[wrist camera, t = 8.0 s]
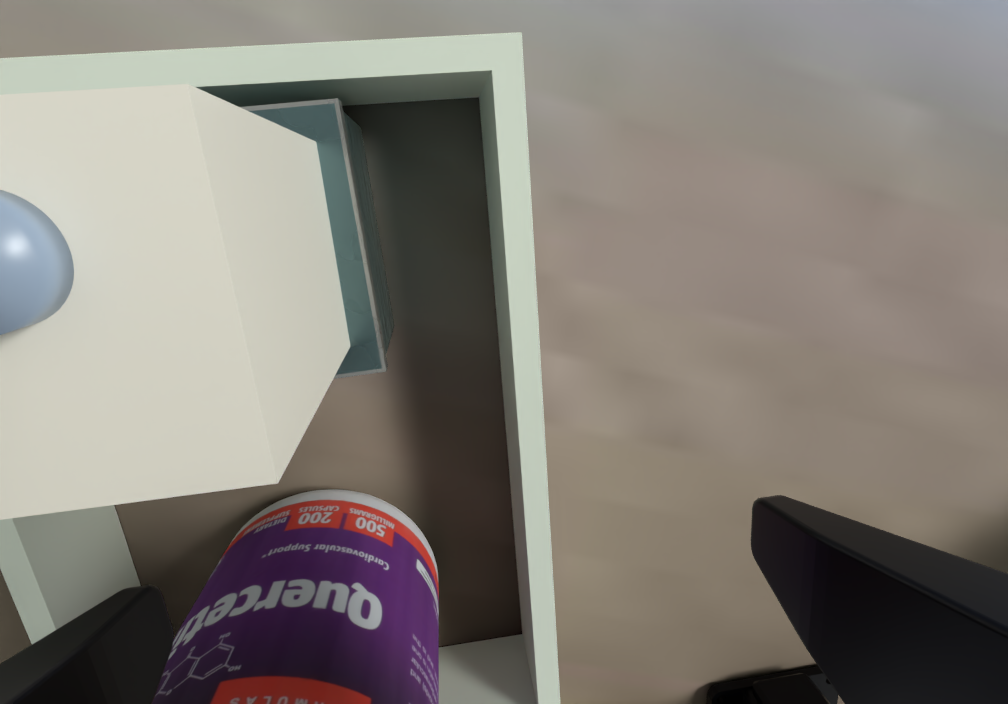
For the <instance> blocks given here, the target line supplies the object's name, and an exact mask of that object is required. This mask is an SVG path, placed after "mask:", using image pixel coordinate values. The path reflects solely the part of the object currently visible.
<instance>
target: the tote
mask: <svg viewBox="0 0 1008 704" xmlns="http://www.w3.org/2000/svg"><path fill="white" fill-rule="evenodd" d="M177 84H189V85H191V86H194V87H196V88H198V89H200V90H203V91H205V92H207V93H209V94H211V95H214V96H216V97H218V98H220V99H222V100H225V101H227V102H229V103H231V104H234V105H236V106H238V107H246V106H257V105H268V104H279V103H291V102H302V101H313V100H324V99H335V98H338V99H339V100H340V101H341V102H342V106H346V105H362V104H379V103H395V102H411V101H428V100H444V99H460V98H476V97H479V104H480V117H481V129H482V141H483V154H484V166H485V178H486V191H487V203H488V216H489V228H490V240H491V253H492V265H493V278H494V290H495V302H496V315H497V327H498V339H499V352H500V364H501V377H502V389H503V401H504V414H505V426H506V439H507V451H508V463H509V476H510V488H511V501H512V513H513V525H514V538H515V550H516V562H517V575H518V587H519V600H520V612H521V624H522V634H520V635H514V636H508V637H501V638H495V639H489V640H483V641H477V642H470V643H464V644H458V645H452V646H446V647H439V704H560V689H559V671H558V654H557V637H556V619H555V602H554V585H553V567H552V550H551V533H550V515H549V498H548V481H547V463H546V446H545V429H544V411H543V394H542V377H541V359H540V342H539V324H538V307H537V290H536V272H535V255H534V238H533V220H532V203H531V186H530V168H529V151H528V134H527V116H526V99H525V82H524V64H523V47H522V32H519V33H499V34H478V35H458V36H438V37H418V38H398V39H378V40H358V41H338V42H317V43H297V44H277V45H257V46H237V47H217V48H197V49H177V50H157V51H136V52H116V53H96V54H76V55H56V56H36V57H16V58H0V95H3V94H21V93H38V92H55V91H73V90H90V89H107V88H125V87H142V86H160V85H177ZM0 569H1V572H2V574H3V576H4V579H5V581H6V584H7V586H8V588H9V591H10V593H11V596H12V598H13V601H14V603H15V605H16V608H17V610H18V613H19V615H20V617H21V620H22V622H23V625H24V627H25V629H26V632H27V634H28V637H29V639H30V641H31V644H34V643H35V642H37V641H39V640H40V639H42V638H44V637H45V636H47V635H48V634H50V633H52V632H53V631H55V630H57V629H58V628H60V627H62V626H63V625H65V624H66V623H68V622H70V621H71V620H73V619H75V618H76V617H78V616H80V615H81V614H83V613H84V612H86V611H88V610H89V609H91V608H93V607H94V606H96V605H97V604H99V603H101V602H102V601H104V600H106V599H107V598H109V597H111V596H112V595H114V594H115V593H117V592H119V591H121V590H122V589H126V588H130V587H137V586H141V585H140V582H139V579H138V576H137V573H136V570H135V567H134V564H133V561H132V558H131V555H130V552H129V549H128V545H127V542H126V539H125V536H124V533H123V530H122V527H121V524H120V521H119V518H118V515H117V512H116V509H115V506H114V505H109V506H102V507H94V508H86V509H79V510H71V511H64V512H56V513H48V514H41V515H33V516H25V517H18V518H10V519H3V520H0Z"/></svg>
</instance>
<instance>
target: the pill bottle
mask: <svg viewBox="0 0 1008 704" xmlns="http://www.w3.org/2000/svg"><path fill="white" fill-rule="evenodd" d="M438 616H439V586H438V570H437V564H436V561H435V557H434V554H433V552H432V549H431V547H430V545H429V543H428V541H427V539H426V538H425V536H424V535H423V533H422V532H421V530H420V529H419V528H418V526H417V525H416V524H415V523H414V522H413V521H412V520H411V519H410V518H409V517H408V516H407V515H405V514H404V513H403V512H402V511H400V510H399V509H397V508H396V507H395V506H393V505H391V504H389V503H387V502H386V501H384V500H381V499H379V498H377V497H374V496H372V495H369V494H365V493H361V492H356V491H349V490H340V489H327V490H315V491H309V492H304V493H300V494H296V495H293V496H290V497H288V498H285V499H282V500H280V501H278V502H276V503H274V504H272V505H270V506H268V507H267V508H265V509H264V510H262V511H261V512H259V513H258V514H256V515H255V516H254V517H253V518H252V519H250V520H249V521H248V522H247V523H246V524H245V525H244V526H243V527H242V528H241V529H240V531H239V532H238V533H237V534H236V536H235V537H234V539H233V540H232V541H231V543H230V545H229V546H228V548H227V549H226V551H225V552H224V554H223V556H222V557H221V559H220V561H219V562H218V564H217V566H216V568H215V569H214V571H213V573H212V574H211V576H210V578H209V580H208V581H207V583H206V585H205V587H204V588H203V590H202V592H201V593H200V595H199V597H198V599H197V600H196V602H195V604H194V605H193V607H192V609H191V610H190V612H189V614H188V615H187V617H186V619H185V620H184V622H183V624H182V626H181V627H180V629H179V631H178V632H177V634H176V636H175V638H174V639H173V646H172V650H171V653H170V656H169V658H168V661H167V664H166V667H165V669H164V672H163V675H162V678H161V680H160V683H159V686H158V689H157V692H156V694H155V697H154V700H153V703H152V704H439V640H438V636H439V622H438Z"/></svg>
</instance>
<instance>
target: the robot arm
mask: <svg viewBox="0 0 1008 704" xmlns="http://www.w3.org/2000/svg"><path fill="white" fill-rule="evenodd" d="M751 549H752V553H753V556H754V559H755V561H756V563H757V564H758V566H759V568H760V570H761V571H762V573H763V575H764V576H765V578H766V580H767V582H768V583H769V585H770V587H771V589H772V590H773V592H774V594H775V596H776V597H777V599H778V601H779V603H780V604H781V606H782V608H783V609H784V611H785V613H786V615H787V616H788V618H789V620H790V622H791V623H792V625H793V627H794V629H795V630H796V632H797V634H798V635H799V637H800V639H801V640H802V642H803V644H804V645H805V647H806V649H807V650H808V652H809V653H810V655H811V656H812V658H813V659H814V660H815V662H816V663H817V665H818V666H817V667H811V668H805V669H800V670H794V671H788V672H783V673H777V674H771V675H766V676H760V677H754V678H749V679H743V680H738V681H732V682H726V683H721V684H716V685H714V686H712V687H711V688H710V689H709V690H708V694H707V704H837V700H838V695H839V696H840V697H841V699H842V700H843V702H844V703H845V704H1008V574H1007V573H1004V572H1001V571H998V570H995V569H992V568H990V567H987V566H984V565H981V564H978V563H975V562H972V561H969V560H967V559H964V558H961V557H958V556H955V555H952V554H949V553H946V552H944V551H941V550H938V549H935V548H932V547H929V546H926V545H923V544H921V543H918V542H915V541H912V540H909V539H906V538H903V537H901V536H898V535H895V534H892V533H889V532H886V531H883V530H880V529H878V528H875V527H872V526H869V525H866V524H863V523H860V522H857V521H855V520H852V519H849V518H846V517H843V516H840V515H837V514H834V513H832V512H829V511H826V510H823V509H820V508H817V507H814V506H811V505H809V504H806V503H803V502H800V501H797V500H794V499H791V498H788V497H786V496H782V495H777V496H770V497H763V498H758V499H757V500H755V502H754V503H753V507H752V526H751ZM173 637H174V636H173V628H172V625H171V622H170V619H169V616H168V612H167V609H166V606H165V603H164V599H163V596H162V593H161V591H160V589H159V588H158V587H157V586H154V585H145V586H137V587H130V588H126V589H122V590H121V591H119V592H117V593H115V594H114V595H112V596H111V597H109V598H107V599H106V600H104V601H102V602H101V603H99V604H97V605H96V606H94V607H93V608H91V609H89V610H88V611H86V612H84V613H83V614H81V615H80V616H78V617H76V618H75V619H73V620H71V621H70V622H68V623H66V624H65V625H63V626H62V627H60V628H58V629H57V630H55V631H53V632H52V633H50V634H48V635H47V636H45V637H44V638H42V639H40V640H39V641H37V642H35V643H34V644H32V645H30V646H29V647H27V648H26V649H24V650H22V651H21V652H19V653H17V654H16V655H14V656H12V657H11V658H9V659H8V660H6V661H4V662H3V663H1V664H0V704H152V703H153V700H154V697H155V694H156V692H157V689H158V686H159V683H160V680H161V678H162V675H163V672H164V669H165V667H166V664H167V661H168V658H169V656H170V653H171V650H172V646H173Z"/></svg>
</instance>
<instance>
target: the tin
mask: <svg viewBox="0 0 1008 704" xmlns="http://www.w3.org/2000/svg"><path fill="white" fill-rule="evenodd" d="M240 108H242V109H245V110H247V111H249V112H251V113H254V114H256V115H258V116H260V117H262V118H265V119H267V120H269V121H271V122H274V123H276V124H278V125H280V126H282V127H285V128H287V129H289V130H291V131H294V132H296V133H298V134H300V135H302V136H305V137H307V138H309V139H311V140H314V141H316V143H317V149H318V155H319V161H320V167H321V173H322V179H323V185H324V191H325V197H326V203H327V209H328V215H329V221H330V227H331V233H332V239H333V245H334V251H335V256H336V262H337V268H338V274H339V280H340V286H341V292H342V298H343V304H344V310H345V316H346V322H347V328H348V334H349V340H350V348H349V350H348V352H347V354H346V356H345V357H344V359H343V361H342V363H341V365H340V367H339V369H338V371H337V373H336V375H335V376H334V378H333V379H335V378H343V377H350V376H357V375H364V374H372V373H379V372H386V371H387V367H388V364H387V358H386V353H387V349H388V346H389V342H390V339H391V336H392V332H393V329H394V321H393V315H392V309H391V303H390V297H389V291H388V285H387V279H386V273H385V268H384V262H383V256H382V250H381V244H380V238H379V232H378V226H377V220H376V214H375V208H374V202H373V196H372V190H371V184H370V178H369V172H368V167H367V161H366V155H365V149H364V143H363V137H362V131H361V127H360V126H358V125H357V124H356V123H355V122H354V121H353V120H352V119H351V118H350V117H349V116H348V115H347V114H345V113H344V112H343V108H342V102H341V101H340V100H339V99H338V98H335V99H324V100H313V101H302V102H291V103H279V104H268V105H257V106H246V107H240Z"/></svg>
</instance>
